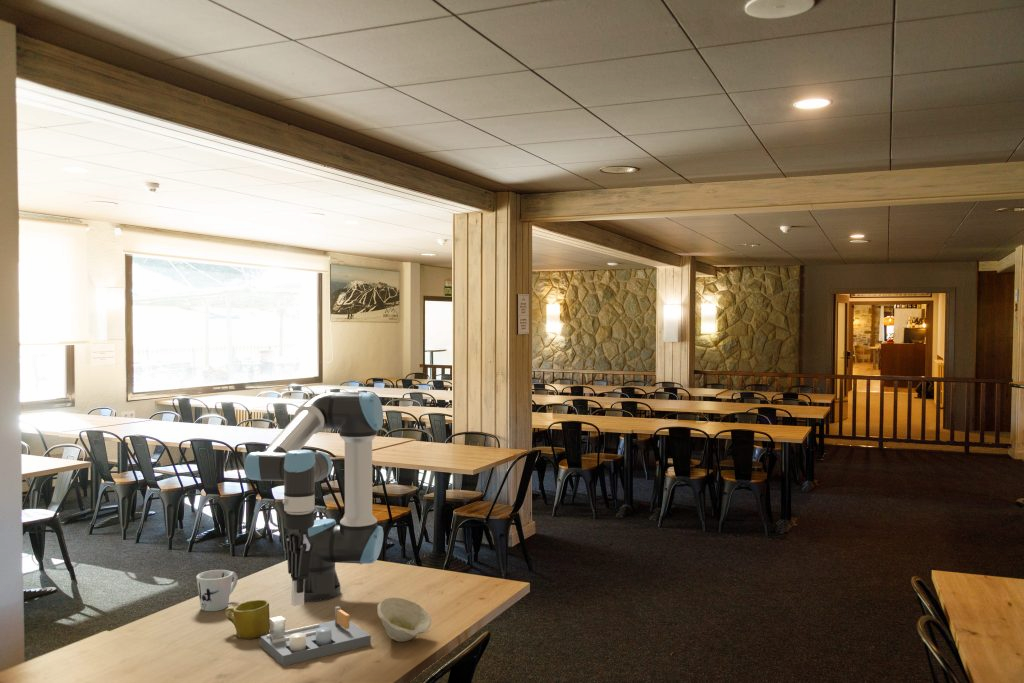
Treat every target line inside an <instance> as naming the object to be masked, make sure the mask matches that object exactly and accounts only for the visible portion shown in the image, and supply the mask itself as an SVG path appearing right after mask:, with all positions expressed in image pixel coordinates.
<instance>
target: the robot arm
mask: <svg viewBox="0 0 1024 683" xmlns="http://www.w3.org/2000/svg"><path fill="white" fill-rule="evenodd" d="M383 421H384V409H383V405H382V402H381V399H380V398H379V396H378V395H377V394H375V393H373V392H366V391H365V392H364V391H357V392H356V391H341V392H340V391H339V392H338V391H328V392H324V393H323V392H322V393H320V394H318V395H316V396H314V397H312V398H310V399H308V400H306V401H305V402H304V403H303V404H301V405H300V406H299V407H298V408H297V410H296V411H295V413H294V416H293V418H292V419H291V421H290V422H289V423H287V425H286V426H285V428H283V429H282V430H281V431H280V433H278V435H277V436H276V437H275V438H273V440H272V441H271V442H270V443H269V444H268V446H267V447H266V448H265V449H264V450H263V451H258V450H257V451H252V452H249V453H248V454H247V456H246V457H245V461H244V464H243V465H244V468H243V469H244V474H245V476H246V478H247V479H249V480H251V481H252V480H253V481H260V482H262V481H268V482H269V481H270V482H271V481H273V482H277V481H278V482H283V486H284V487H283V488H284V489H283V490H284V492H283V498H284V499H282V505H283V510H284V513H283V527H284V528H285V529H287V530H288V532H289V534H285V535H284V539H285V544H286V545H285V546H286V558H287V559H286V560H287V572H288V574H289V575H290V577H291V578H290V579H291V605H292V606H293V607H296V606H302V605H304V604H305V602H321V601H327V600H331V599H335V598H337V597H339V595H340V594H341V583H340V580H339V576H338V574H337V570H336V564H337V563H339V564H340V563H341V564H357V565H358V564H359V565H367V564H368V565H369V564H370V565H371V564H373V563H375V562H376V561H377V560H378V558H379V556H380V554H381V551H382V547H383V543H384V529H383V528H384V527H383V526H381V525H378V519H377V517H375V516H374V515H373V440H374V439H375V438H376V437H377V436H378V431H379V430H381V429H382V427H383V424H384V422H383ZM328 429H329V430H330V429H332V430H339V437H340V438H341V439H342V440H343V441H344V516H343V517H342V518H341V519H340V520H339V524H337V522H336V519H334V518H321V519H315V512H314V510H315V508H316V507H315V503H316V501H315V499H316V498H315V497H316V496H315V487H316V485H315V483H317V482H320V481H323V480H325V479H326V477H327V476H329V475H330V473H331V472H332V470H333V462H332V461H333V460H332V458H331V457H330V456H329V454H326V453H325V452H323V451H313V450H310V449H302V448H303V447H305V445H306V444H307V442H308V441H309V440H310V439H311V438H312V437H313V436H314V435H315V434H318V433H320V432H321V431H322V430H328Z"/></svg>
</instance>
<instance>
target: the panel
mask: <svg viewBox="0 0 1024 683" xmlns="http://www.w3.org/2000/svg"><path fill="white" fill-rule="evenodd" d="M323 627H328V628H331V629H332V642H331V644H327V645H323V646H319V645H316V630H317V629H318V628H323ZM295 633H304V634H306V649H305V650H302V651H298V652H292V651H290V635H292V634H295ZM371 640H372V636H371V634H369V633H368V632H367V631H365V630H364V629H362V628H360V627H359V626H357V625H356V624H355V623H353V622H351V621H350V620H349V629H345V628H344V627H342V626H341V625H339V626H336V625H335V619H334V620H331V621H327V622H326V621H325V622H321V623H315V624H311V625H306V626H302V627H301V626H300V627H298V628H297V627H296V628H292V629H288V630H285V637H284V638H280V639H275V640H272V639H271V638H270V633H267V634H265V635H263V636H260V647H261V648H262V649H263V650H265V651H266V652H267V654H269V655H270V656H271V657H272V658H273V659H275V661H277V662H278V663H279V664H280V665H281V666H282V667H285V666H288V665H292V664H296V663H300V662H305V661H309V660H314V659H317V658H321V657H325V656H329V655H334V654H338V653H341V652H342V653H343V652H347V651H350V650H353V649H359V648H363V647H366V646H370V645H372V644H371V642H372V641H371Z"/></svg>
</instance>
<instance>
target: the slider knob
mask: <svg viewBox="0 0 1024 683" xmlns="http://www.w3.org/2000/svg"><path fill="white" fill-rule="evenodd" d="M286 620H287V619H286V617H283V616H282V615H279V616H274V617H269V621H270V630H269V634H270V638H271V639H272V640H275V639H280V638H284V637H285V631H286Z"/></svg>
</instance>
